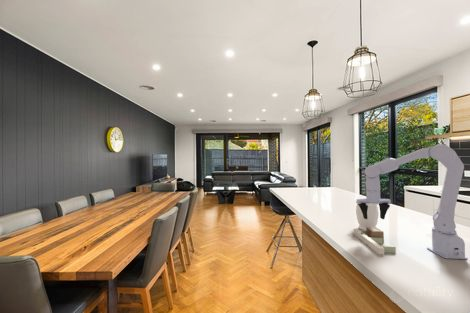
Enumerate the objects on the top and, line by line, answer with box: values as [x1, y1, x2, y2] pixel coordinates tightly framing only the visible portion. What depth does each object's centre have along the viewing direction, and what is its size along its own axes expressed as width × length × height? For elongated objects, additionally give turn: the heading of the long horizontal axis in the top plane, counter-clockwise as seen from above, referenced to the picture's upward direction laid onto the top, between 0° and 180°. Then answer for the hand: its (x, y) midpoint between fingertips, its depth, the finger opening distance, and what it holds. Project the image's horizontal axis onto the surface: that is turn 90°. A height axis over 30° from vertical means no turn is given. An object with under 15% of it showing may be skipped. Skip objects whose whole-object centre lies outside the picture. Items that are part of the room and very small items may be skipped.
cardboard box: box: [366, 226, 385, 243], centre depth 103 cm, size 6×4×5 cm
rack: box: [352, 228, 397, 256], centre depth 100 cm, size 24×8×3 cm, turn 174°
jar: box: [355, 200, 379, 230], centre depth 119 cm, size 11×10×15 cm
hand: (373, 218), depth 104 cm, fingers open, 7 cm apart
